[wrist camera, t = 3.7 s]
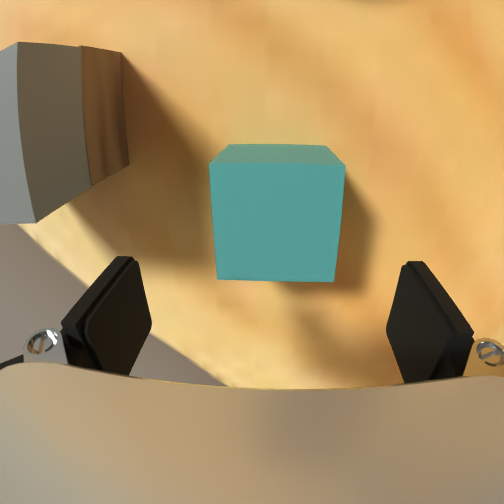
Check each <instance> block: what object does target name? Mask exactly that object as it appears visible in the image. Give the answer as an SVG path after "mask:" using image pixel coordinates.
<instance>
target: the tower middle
mask: <svg viewBox="0 0 504 504" xmlns="http://www.w3.org/2000/svg"><path fill="white" fill-rule="evenodd" d="M90 188H91V181H90V174H89V167H88V159H87V151H86V141H85V131H84V119H83V104H82V80H81V47H74V46H65V45H56V44H44V43H29V42H17V43H15V44H13V45H11V46H9V47H7V48H5V49H4V50H2V51H0V224H26V223H37V222H39V221H40V220H41V219H43V218H44V217H46V216H47V215H49V214H50V213H52V212H53V211H55V210H56V209H58V208H59V207H61V206H62V205H64V204H66V203H67V202H69V201H70V200H72V199H73V198H75V197H77V196H78V195H80V194H82V193H83V192H85V191H86V190H88V189H90Z"/></svg>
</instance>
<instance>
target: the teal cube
mask: <svg viewBox="0 0 504 504" xmlns="http://www.w3.org/2000/svg"><path fill="white" fill-rule="evenodd" d="M209 175H210V191H211V206H212V220H213V233H214V245H215V257H216V269H217V280H249V281H294V282H334V277H335V269H336V261H337V253H338V244H339V235H340V226H341V216H342V205H343V193H344V180H345V165H344V164H343V163H342V162H341V161H340V160H339V159H338V158H337V156H336V155H335V154H334V153H333V152H332V151H331V150H330V149H329V148H328V147H327V146H319V145H289V144H234V145H228V146H227V147H226V148H225V149H224V150H223V151H222V152H220V153H219V154H218V155H217V156H216V157H215V158H214V159H213V160H212V161H211V162H210V163H209Z"/></svg>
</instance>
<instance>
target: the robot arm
mask: <svg viewBox="0 0 504 504" xmlns="http://www.w3.org/2000/svg"><path fill="white" fill-rule="evenodd" d="M61 324H62V327H63V329H62V330H61V331H58V330H57V329H54V328H43V329H40V330H38V331H35V332H34V333H33V334H31V335H30V336H29V337H28V338H27V339H26V341H25V343H24V347H23V353H24V354H23V355H20V356H18V357H15V358H13V359H11V360H8V361H5V362H3V363H0V504H504V346H502V345H501V344H500V343H499V342H497V341H495V340H492V339H489V338H481V339H478V340H476V341H474V339H473V338H472V336H473V334H474V331H473V330H472V328H471V327H470V325H469V324H468V322H467V321H466V319H465V318H464V316H463V315H462V313H461V312H460V310H459V309H458V307H457V306H456V305H455V303H454V302H453V300H452V299H451V298H450V296H449V295H448V293H447V292H446V291H445V289H444V288H443V287H442V285H441V284H440V282H439V281H438V280H437V278H436V277H435V276H434V275H433V273H432V272H431V271H430V269H429V268H428V267H427V265H426V264H425V263H424V262H423V261H408V262H407V263H406V265H403V266H402V268H401V272H400V276H399V280H398V284H397V288H396V292H395V296H394V300H393V304H392V308H391V311H390V315H389V319H388V322H387V326H386V333H387V336H388V339H389V342H390V344H391V347H392V350H393V352H394V355H395V358H396V361H397V363H398V366H399V369H400V372H401V375H402V377H403V380H404V384H394V385H383V386H371V387H355V388H334V389H259V388H237V387H221V386H208V385H196V384H187V383H178V382H169V381H161V380H154V379H147V378H140V377H134V376H129V373H130V372H131V369H132V367H133V365H134V363H135V361H136V359H137V357H138V355H139V352H140V350H141V348H142V346H143V344H144V342H145V340H146V338H147V336H148V334H149V332H150V330H151V326H152V320H151V316H150V312H149V308H148V303H147V299H146V295H145V291H144V286H143V282H142V277H141V272H140V267H139V263H138V261H135V260H134V258H133V257H130V256H117V257H116V258H115V259H114V260H113V261H112V262H111V263H110V265H109V266H108V267H107V268H106V269H105V270H104V271H103V272H102V274H101V275H100V276H99V277H98V278H97V279H96V280H95V282H94V283H93V284H92V285H91V286H90V287H89V289H88V290H87V291H86V292H85V293H84V294H83V296H82V297H81V298H80V299H79V301H78V302H77V303H76V304H75V305H74V306H73V308H72V309H71V310H70V312H69V313H68V314H67V315H66V316H65V318H64V319H63V320H62V322H61Z"/></svg>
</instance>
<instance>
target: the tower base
mask: <svg viewBox="0 0 504 504" xmlns="http://www.w3.org/2000/svg"><path fill="white" fill-rule="evenodd" d="M78 47H81V80H82V104H83V119H84V131H85V141H86V151H87V159H88V167H89V174H90V181H91V185H94V184H96V183H97V182H99V181H101V180H103V179H104V178H106V177H108V176H110V175H112V174H113V173H115V172H117V171H119V170H121V169H122V168H124V167H126V166H128V165H129V159H128V150H127V140H126V129H125V117H124V104H123V86H122V57H121V52H116V51H110V50H105V49H99V48H93V47H87V46H78Z"/></svg>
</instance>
